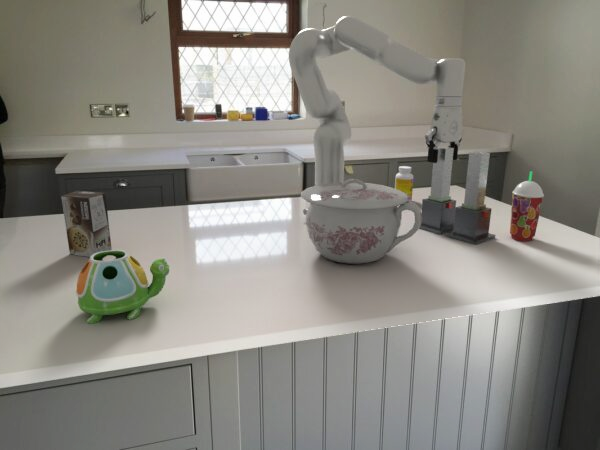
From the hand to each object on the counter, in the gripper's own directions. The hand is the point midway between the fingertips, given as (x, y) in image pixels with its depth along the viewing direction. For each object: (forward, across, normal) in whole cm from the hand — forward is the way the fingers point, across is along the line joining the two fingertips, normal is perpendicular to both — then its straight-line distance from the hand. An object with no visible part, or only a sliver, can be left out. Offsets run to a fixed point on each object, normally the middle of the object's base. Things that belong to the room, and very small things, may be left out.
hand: (442, 160), depth 151 cm
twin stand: (+21, 0, -12) cm, 24 cm away
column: (+14, 0, 0) cm, 14 cm away
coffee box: (+22, -93, +42) cm, 104 cm away
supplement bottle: (+22, +19, +30) cm, 41 cm away
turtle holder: (+22, -98, +4) cm, 100 cm away
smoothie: (+21, +11, -22) cm, 33 cm away
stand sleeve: (+21, 0, 0) cm, 21 cm away
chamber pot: (+22, -39, -2) cm, 44 cm away
